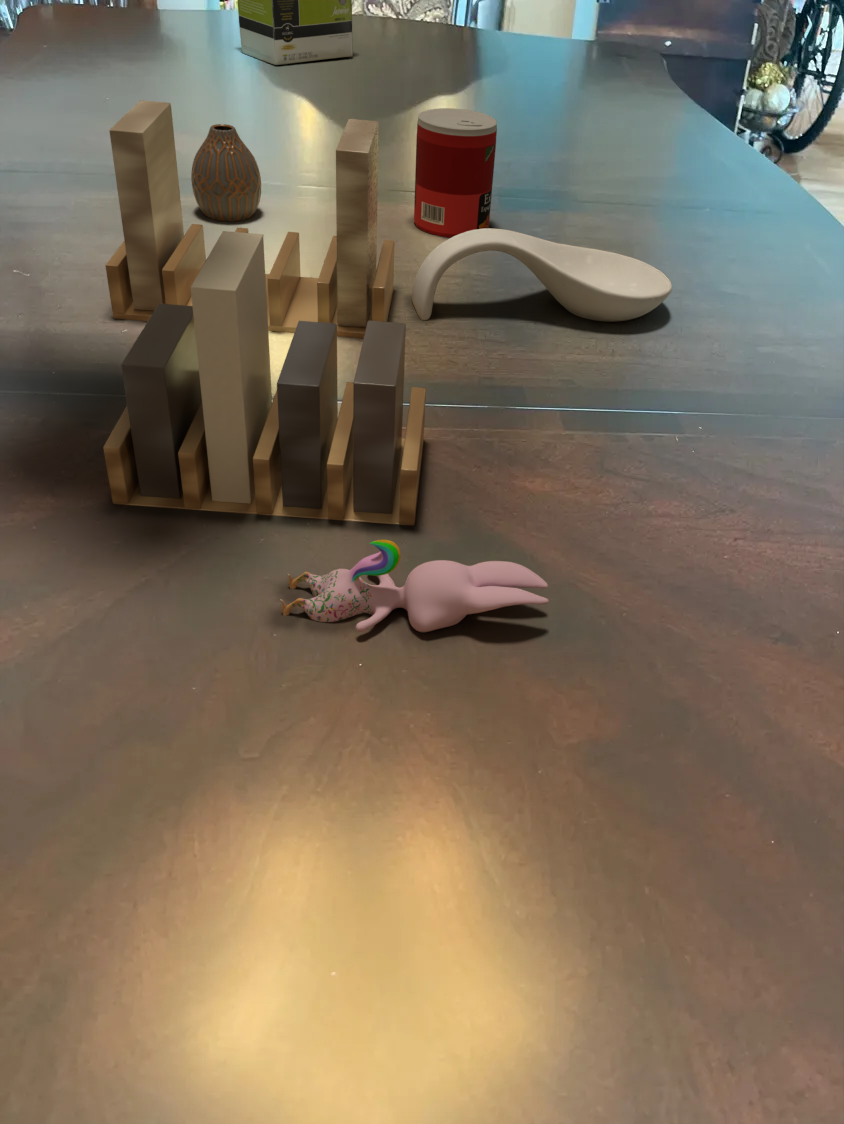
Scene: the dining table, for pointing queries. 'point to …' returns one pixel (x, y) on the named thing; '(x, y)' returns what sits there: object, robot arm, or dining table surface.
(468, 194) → the canned food
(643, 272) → the spoon rest
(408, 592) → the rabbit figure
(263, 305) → the white book
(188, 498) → the brown wooden book rack
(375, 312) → the wooden slotted rack
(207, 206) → the vase
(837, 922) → the dining table surface
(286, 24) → the tea box
